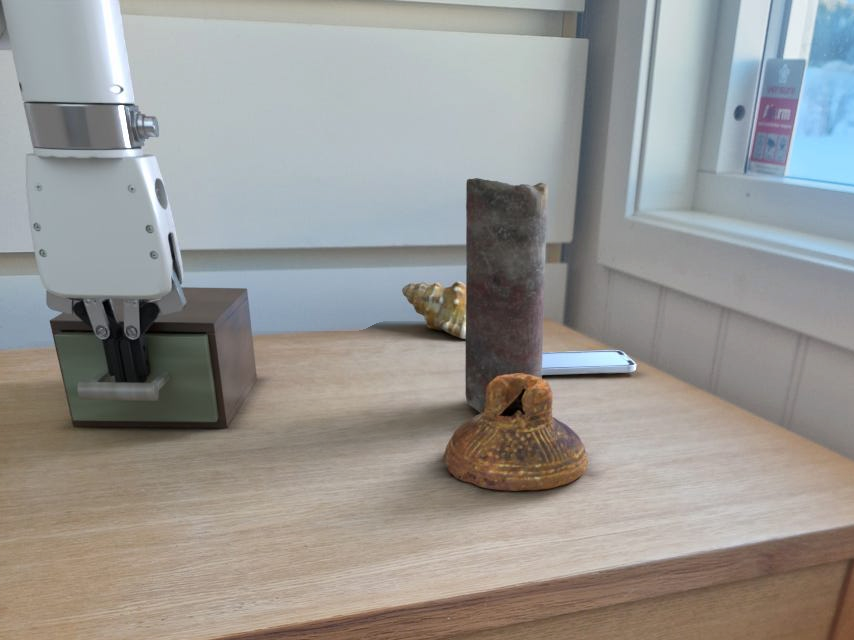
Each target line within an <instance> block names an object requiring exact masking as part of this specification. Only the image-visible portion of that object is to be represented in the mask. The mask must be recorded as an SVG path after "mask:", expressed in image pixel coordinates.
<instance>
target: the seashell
mask: <svg viewBox="0 0 854 640" xmlns="http://www.w3.org/2000/svg"><path fill="white" fill-rule="evenodd" d="M401 293H402V295H403V296H404V297H405V298H406V299H407V302H408V303H409V304H410V305H412V306H413V308H414V311H415V313H417V314H419V315H421V316H423V318H424V321H425V323H426V324H425V325H426V327H427V328H429V329H433V330H436V331H437V330H438V331H445V332H446V333H448V334H450V335H452V336H454V337H457V338H459V339H463V340H466V283H465V284H464V282H462V281H455V282H454V283H453V284H452V285H451V286H448V287H445V286H443V285H441V284H440V282H439V281H437V282H436V281H435V282H434V283H433V284H427V283H426V282H424V281H422V282H420V283H415V282H410V283H408V284H406V285H405V286H404V287H402V290H401Z"/></svg>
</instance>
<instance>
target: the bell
mask: <svg viewBox="0 0 854 640" xmlns="http://www.w3.org/2000/svg"><path fill="white" fill-rule="evenodd" d="M553 398H554V394H553V391H552V388H551V385H550V384H549V382H548V381H547V380H545V379H544V378H542V379H541V378H539V377H536V376H533V375H527V374H523V373H516V374H510V375H502V376H497V377H496V378H494V379H493V380H492V381H491V382H490V383H489V384H488V385H487V389H486V405H485V410H484V412H483V413H481V414H480V413H478V414H476V415H474V416H472V417H471V418H469V419H468V420H466V421H464V422H463V423H462V424H461V425H460V426H458V427H457V428H456V429H455V431H453V433H452V435H451V437H450V439H449V441H448V443H447V444H446V447H445V450H444V453H443V460H444V465H445V467H446V469H447V471H448V472H449V473H450V474H452V475H453V476H454V478H456V479H458V480H460V481H462V482H465V483H471V484H474V485H475V486H477V487H479V488H483V489H489V490H495V491H497V490H499V491H507V492H508V491H509V492H510V491H511V492H520V491H539V490H548V489H549V490H550V489H553V488H557V487H560V486H564V485H567V484H570V483H572V482H574V481H576V480H577V479H578V478H580V477H582V475H583V474H584V473H585V471H586V469H587V467H588V461H589V460H588V453H587V451H586V447H585V445H584V443H583V442H582V440H581V438H580V436H579V434H577V433H576V432H575V431H574V429H572V428H570V427H569V425H567V424H566V423H564V422H562V421H560V420H558V419H557V418H556V417H554V416H553V403H554V401H553V400H554V399H553Z"/></svg>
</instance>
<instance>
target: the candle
mask: <svg viewBox="0 0 854 640" xmlns="http://www.w3.org/2000/svg"><path fill="white" fill-rule="evenodd" d="M465 185H466V187H465V188H466V190H465V191H466V193H465V195H466V196H465V199H466V200H465V201H466V202H465V212H466V213H465V214H466V216H465V217H466V220H465V221H466V226H465V227H466V228H465V230H466V231H465V232H466V233H465V234H466V235H465V236H466V238H465V245H466V246H465V247H466V256H465V257H466V259H465V260H466V261H465V262H466V271H465V278H466V280H465V286H466V339H465V371H464V373H465V374H464V375H465V379H464V380H465V399H466V403H467V405H468V406H471V408H473V409H474V410H476V411H477V412H478V413H479V414H481V413H483V412H484V410H485V405H486V389H487V385H488V384H489V383H490V382H491V381H492V380H493V379H494V378H496V377H497V376H502V375H510V374H516V373H523V374H527V375H533V376H536V377H539V378H541V379H543V377H542V376H543V375H542V352H543V342H544V337H543V335H544V310H545V282H546V261H547V259H546V257H547V256H546V253H547V252H546V250H547V249H546V247H547V235H548V198H549V187H548V184H547V183H545V182H544V183H543V182H538V183H537V184H535V185H530V184H529V183H528V184H523V183H520V184H515V185H514V184H509V183H507V182H501V181H498V180H489V179H483V178H479V177H475V178H468V179H466V183H465Z"/></svg>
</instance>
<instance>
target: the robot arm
mask: <svg viewBox="0 0 854 640" xmlns="http://www.w3.org/2000/svg"><path fill="white" fill-rule="evenodd" d="M120 5H121V4H120V0H0V51H11V53H12V57H13V58H12V59H13V62H14V67H15V72H16V76H17V81H18V86H19V90H20V95H21V99H22V102H23V103H22V104H23V108H24V113H25V119H26V123H27V126H28V127H27V128H28V132H29V136H30V141H31V145H32V150H33V152H31V153H26V154H25V184H26V187H25V188H26V198H27V199H26V201H27V209H28V219H29V226H30V233H31V240H32V245H33V251H34V257H35V261H36V266H37V267H36V268H37V271H38V275H39V277H40V280H41V283H42V286H43V287H44V289H45V290H46V295H45V297H46V298H45V299H46V300H45V301H46V303H45V304H46V306H47V307H48V308H49V309H50V310H52V311H55V312H60V313H67V314H70V315H76V316H78V317H79V318H80V319H81V320H82V321H83V322H85V323H86V324H87V325H88V326H89V327H90V328H92V329H93V330H94V333H95V335H96V336H97V337H98V338H100V339H102V341H103V346H104V351H105V356H106V361H107V366H108V371H109V374H110V375H111V376H115V381H116V382H123V383H144V382H145V381H146V380H147V376H149V375H150V371H151V368H150V362H149V356H148V350H147V344H146V338H145V332H146V331H147V330H148V328H149V327H150V326H151V325H152V323H153V322H154V321H155V320H156V318H157V317H160V316H165V315H169V314H173V313H177V312H180V311H182V310H183V309H184V308H185V307H186V305H187V302H186V299H185V296H184V294H183V291H182V288H181V287H182V284H183V283H184V276H185V275H184V266H183V259H182V254H181V248H180V244H179V239H178V234H177V229H176V226H175V221H174V217H173V212H172V208H171V204H170V200H169V197H168V191H167V188H166V185H165V182H164V179H163V175H162V172H161V169H160V166H159V163H158V161H157V157H156V155H155V154H149V153H144V151H143V150H144V149H143V147H144V146H145V142H146V140H149V139H150V138H159V136H160V126H159V122H158V119H157V117H156V116H154V115H152V116H149V115H146V113H142V112H141V111H140V109H139V105H136V104H135V103H136V100H135V94H134V89H133V88H134V87H133V80H132V75H131V69H130V63H129V55H128V50H127V44H126V38H125V36H126V35H125V29H124V25H123V16H122V12H121V6H120ZM161 297H162V298H161ZM156 298H159V299H156ZM112 299H123V314H124V330H123V331H122V326H121V325H120V323H119V320H118V317H117V314H116V311H115V308H114V305H113V302H112ZM148 299H155V300H150V301H149V302H148Z"/></svg>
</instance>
